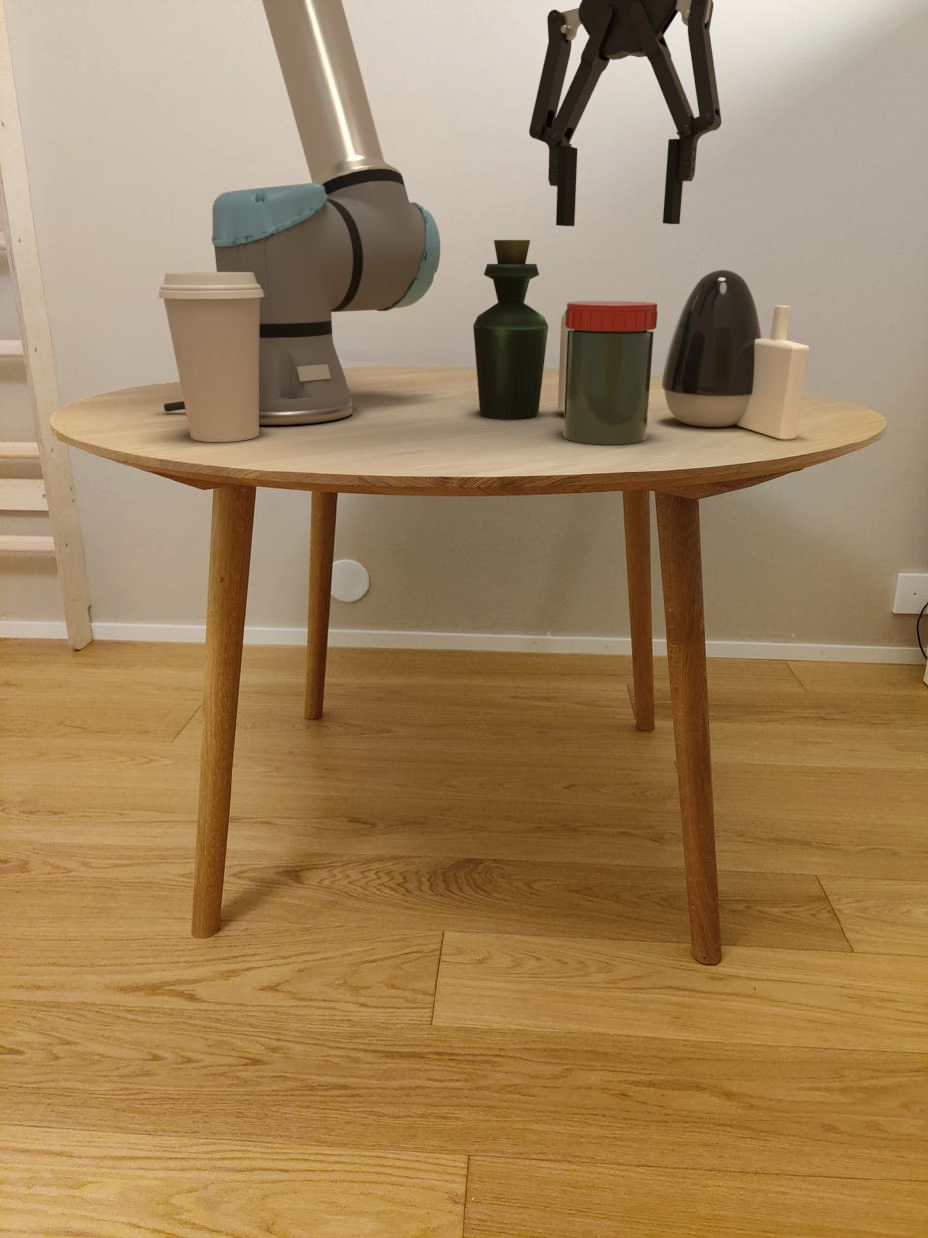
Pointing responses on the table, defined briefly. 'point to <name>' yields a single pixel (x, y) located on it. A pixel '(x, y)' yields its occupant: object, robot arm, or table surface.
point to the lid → (611, 316)
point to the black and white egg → (713, 353)
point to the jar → (607, 386)
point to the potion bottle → (510, 339)
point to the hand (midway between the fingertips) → (616, 224)
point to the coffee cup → (216, 350)
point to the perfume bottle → (777, 382)
